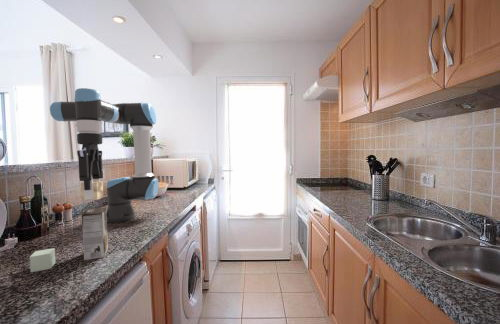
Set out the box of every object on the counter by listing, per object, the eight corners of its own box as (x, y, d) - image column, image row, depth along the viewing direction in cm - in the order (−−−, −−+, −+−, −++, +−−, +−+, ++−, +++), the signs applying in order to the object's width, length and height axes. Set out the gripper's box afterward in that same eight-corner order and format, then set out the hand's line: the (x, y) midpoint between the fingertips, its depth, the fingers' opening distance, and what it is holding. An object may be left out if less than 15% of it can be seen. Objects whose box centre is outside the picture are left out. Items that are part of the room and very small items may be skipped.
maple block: (88, 197, 88) (87, 181, 88) (103, 197, 89) (102, 181, 89) (81, 200, 83) (80, 183, 83) (97, 199, 84) (96, 182, 84)
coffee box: (89, 251, 90) (86, 208, 89) (108, 247, 92) (106, 206, 92) (83, 260, 82) (80, 214, 81) (105, 257, 84) (102, 212, 83)
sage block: (36, 265, 79) (35, 251, 79) (55, 262, 81) (54, 248, 81) (30, 272, 74) (29, 256, 74) (50, 268, 77) (49, 253, 76)
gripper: (90, 135, 93) (93, 194, 94) (63, 131, 76) (67, 203, 77) (110, 135, 95) (113, 193, 96) (89, 130, 77) (92, 202, 78)
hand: (93, 197), depth 86 cm, fingers closed on maple block, 5 cm apart
